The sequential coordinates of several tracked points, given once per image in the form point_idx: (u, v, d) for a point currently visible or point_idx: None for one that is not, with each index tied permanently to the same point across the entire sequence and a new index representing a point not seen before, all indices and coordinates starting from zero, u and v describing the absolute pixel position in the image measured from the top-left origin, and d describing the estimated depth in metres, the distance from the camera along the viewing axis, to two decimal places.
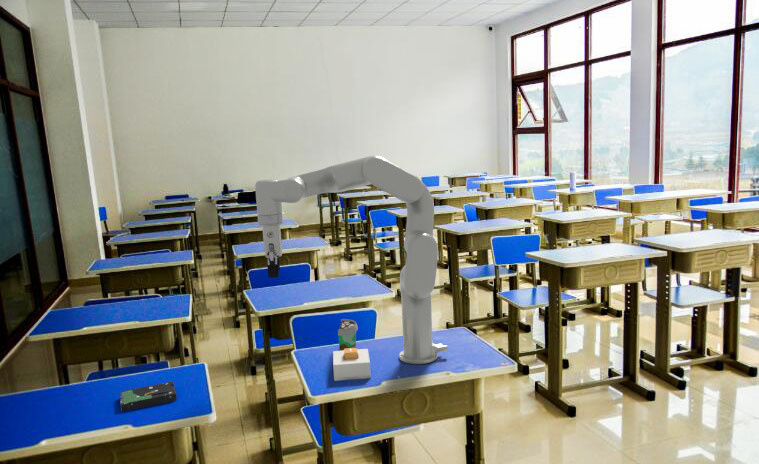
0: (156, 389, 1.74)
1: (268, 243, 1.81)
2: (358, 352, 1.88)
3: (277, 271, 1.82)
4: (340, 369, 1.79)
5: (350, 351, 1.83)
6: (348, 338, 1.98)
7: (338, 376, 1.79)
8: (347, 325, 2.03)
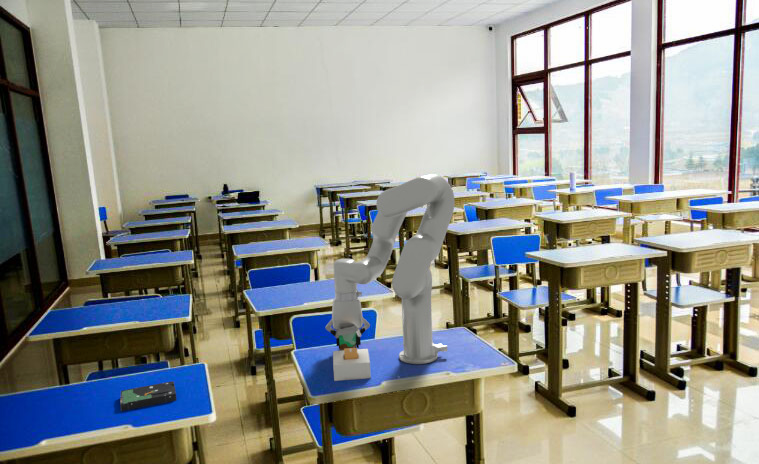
0: (156, 389, 1.74)
1: None
2: (358, 352, 1.88)
3: None
4: (340, 369, 1.79)
5: (350, 351, 1.83)
6: (349, 337, 1.98)
7: (338, 376, 1.79)
8: None
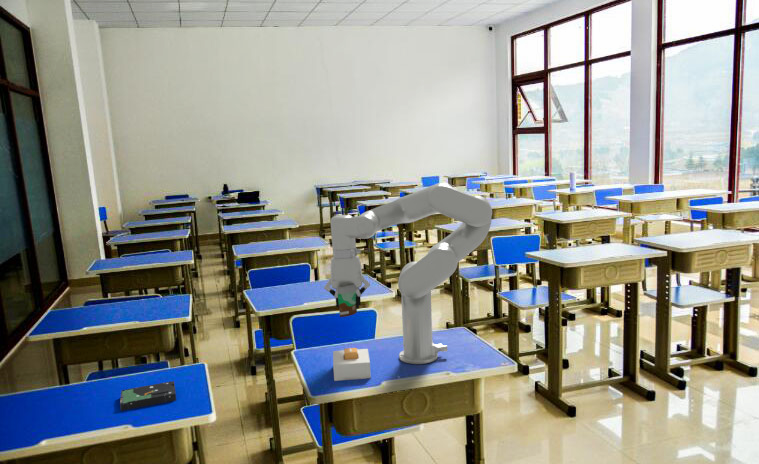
0: (156, 388, 1.75)
1: (361, 274, 1.93)
2: (358, 352, 1.88)
3: None
4: (340, 369, 1.79)
5: (350, 351, 1.83)
6: (348, 296, 1.90)
7: (338, 376, 1.79)
8: None
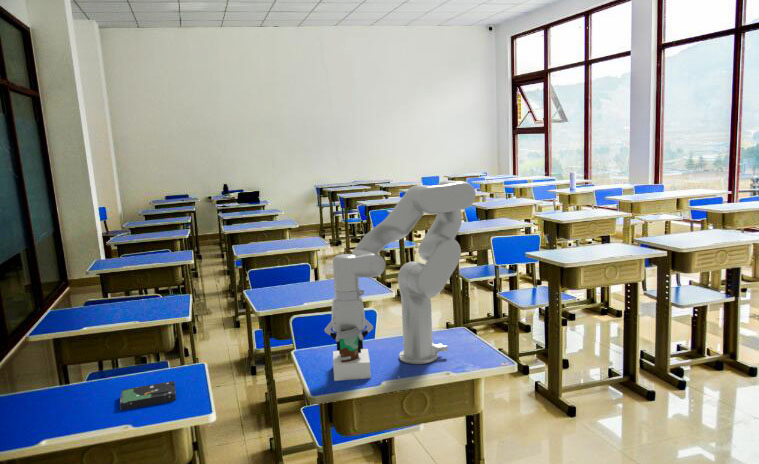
0: (156, 388, 1.75)
1: (364, 317, 1.82)
2: None
3: None
4: (340, 369, 1.79)
5: None
6: (350, 341, 1.80)
7: (338, 376, 1.79)
8: None
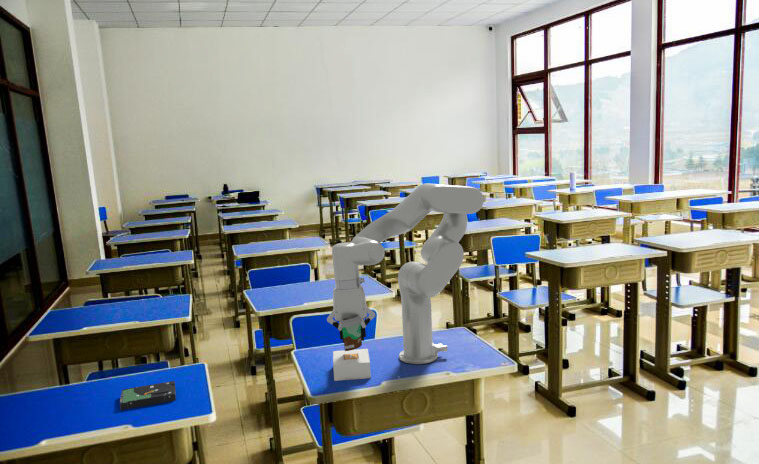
0: (156, 388, 1.75)
1: (366, 305, 1.82)
2: (358, 352, 1.88)
3: None
4: (340, 369, 1.79)
5: (350, 357, 1.84)
6: (353, 329, 1.79)
7: (338, 376, 1.79)
8: None
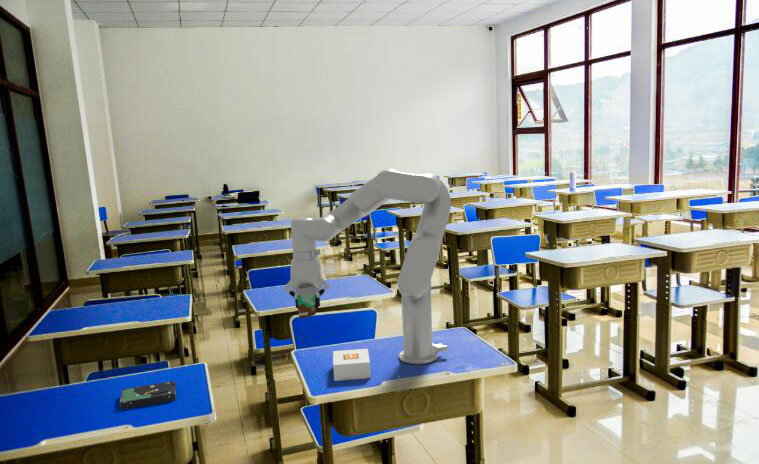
0: (156, 388, 1.75)
1: (321, 276, 1.96)
2: (358, 352, 1.88)
3: None
4: (340, 369, 1.79)
5: (350, 357, 1.84)
6: (307, 298, 1.93)
7: (338, 376, 1.79)
8: None
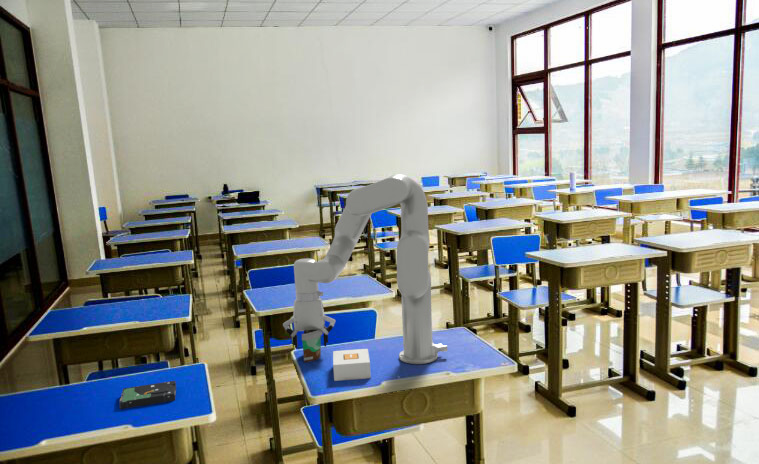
0: (156, 388, 1.75)
1: (323, 315, 1.98)
2: (358, 352, 1.88)
3: None
4: (340, 369, 1.79)
5: (350, 357, 1.84)
6: (312, 342, 1.95)
7: (338, 376, 1.79)
8: (311, 330, 2.00)
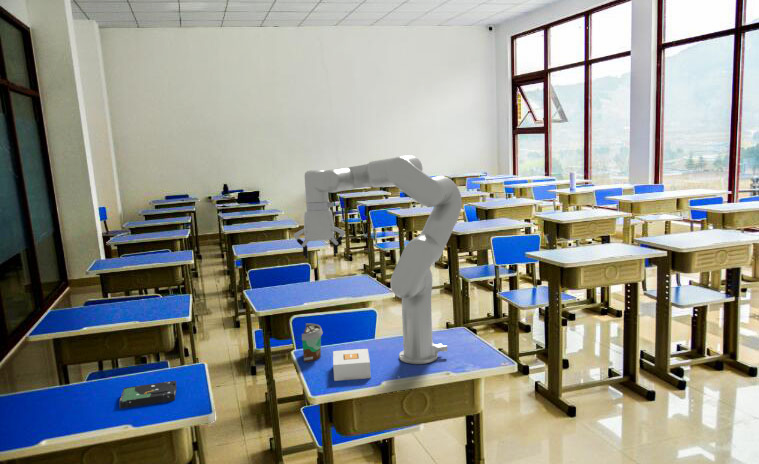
0: (157, 387, 1.75)
1: (333, 225, 2.02)
2: (358, 352, 1.88)
3: None
4: (340, 369, 1.79)
5: (350, 357, 1.84)
6: (312, 342, 1.95)
7: (338, 376, 1.79)
8: (311, 330, 2.00)
